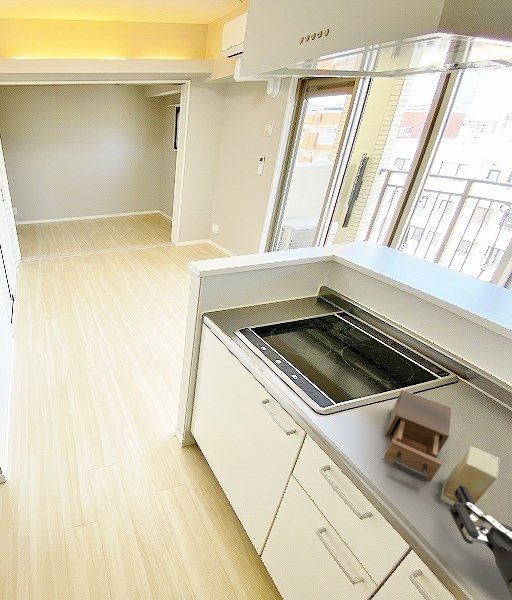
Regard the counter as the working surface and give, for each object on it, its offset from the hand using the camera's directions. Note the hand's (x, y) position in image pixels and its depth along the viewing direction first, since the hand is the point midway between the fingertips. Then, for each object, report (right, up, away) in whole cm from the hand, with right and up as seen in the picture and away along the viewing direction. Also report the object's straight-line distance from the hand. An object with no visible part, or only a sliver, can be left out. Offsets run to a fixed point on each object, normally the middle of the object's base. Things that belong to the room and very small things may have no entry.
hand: (490, 496), depth 61 cm
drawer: (-1, -1, +16) cm, 16 cm away
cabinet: (+7, +3, +23) cm, 25 cm away
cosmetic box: (+3, -6, +9) cm, 11 cm away
